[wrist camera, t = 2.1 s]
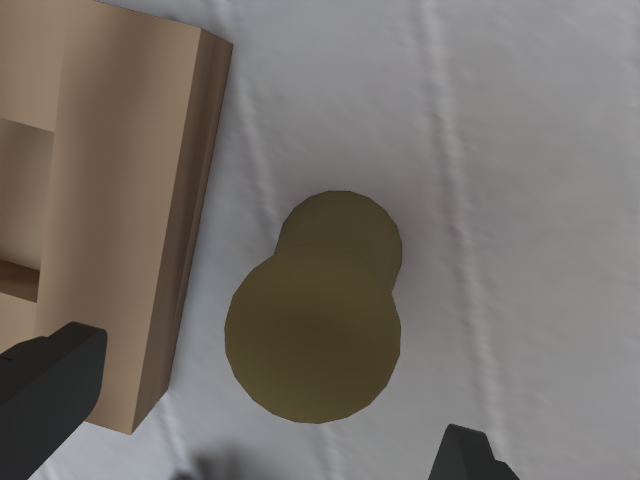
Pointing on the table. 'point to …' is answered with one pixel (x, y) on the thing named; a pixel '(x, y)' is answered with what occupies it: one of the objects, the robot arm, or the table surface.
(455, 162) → the table surface
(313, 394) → the olive knobbed peg
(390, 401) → the table surface
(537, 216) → the table surface
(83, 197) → the socket block
